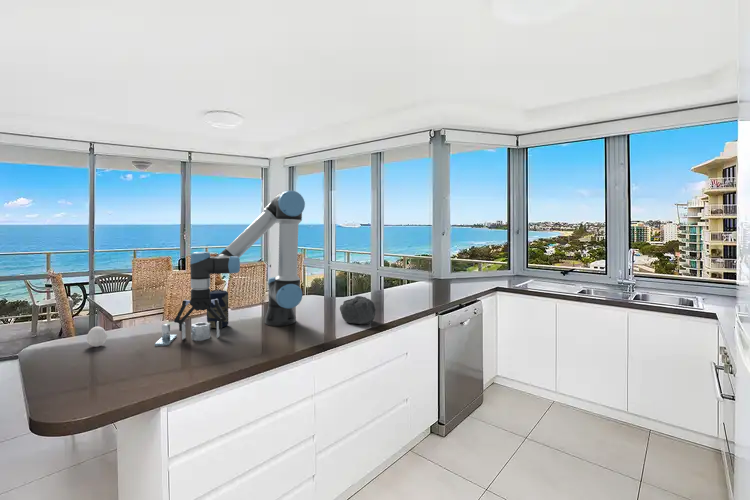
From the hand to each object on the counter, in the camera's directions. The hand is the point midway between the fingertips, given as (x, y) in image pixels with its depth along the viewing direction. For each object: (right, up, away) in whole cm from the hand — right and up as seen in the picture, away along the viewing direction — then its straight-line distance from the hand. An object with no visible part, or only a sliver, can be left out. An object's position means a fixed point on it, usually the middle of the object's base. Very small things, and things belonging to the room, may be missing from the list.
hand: (201, 337), depth 161 cm
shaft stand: (-12, 0, -5) cm, 13 cm away
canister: (-1, +1, +18) cm, 18 cm away
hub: (0, 0, 0) cm, 0 cm away
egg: (-35, -1, -13) cm, 37 cm away
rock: (+66, 0, +31) cm, 73 cm away
